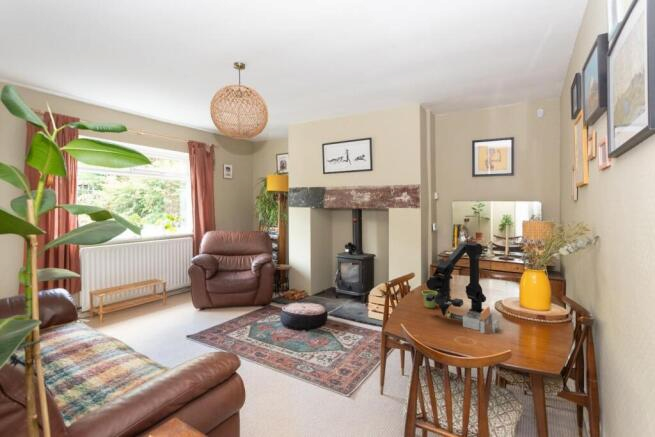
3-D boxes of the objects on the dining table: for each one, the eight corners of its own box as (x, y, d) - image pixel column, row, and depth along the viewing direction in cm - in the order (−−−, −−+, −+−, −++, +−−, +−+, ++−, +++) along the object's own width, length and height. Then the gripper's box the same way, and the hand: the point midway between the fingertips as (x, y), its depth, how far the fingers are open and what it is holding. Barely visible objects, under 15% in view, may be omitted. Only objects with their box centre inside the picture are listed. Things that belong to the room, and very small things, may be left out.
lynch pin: (450, 317, 179) (450, 309, 179) (475, 323, 171) (475, 315, 171) (447, 320, 176) (447, 312, 176) (472, 326, 168) (472, 317, 167)
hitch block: (470, 319, 177) (470, 309, 177) (500, 326, 168) (500, 315, 167) (461, 327, 166) (461, 317, 166) (492, 335, 157) (492, 324, 157)
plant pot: (427, 309, 194) (427, 295, 193) (418, 304, 203) (418, 291, 202) (441, 308, 196) (441, 293, 196) (432, 303, 205) (432, 289, 205)
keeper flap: (491, 316, 169) (489, 316, 170) (489, 306, 169) (487, 306, 170) (484, 323, 160) (482, 323, 161) (482, 312, 160) (480, 312, 161)
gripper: (421, 287, 179) (421, 315, 180) (456, 293, 166) (455, 324, 167) (430, 283, 187) (430, 310, 188) (463, 289, 175) (463, 317, 176)
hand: (444, 315), depth 179 cm, fingers closed
